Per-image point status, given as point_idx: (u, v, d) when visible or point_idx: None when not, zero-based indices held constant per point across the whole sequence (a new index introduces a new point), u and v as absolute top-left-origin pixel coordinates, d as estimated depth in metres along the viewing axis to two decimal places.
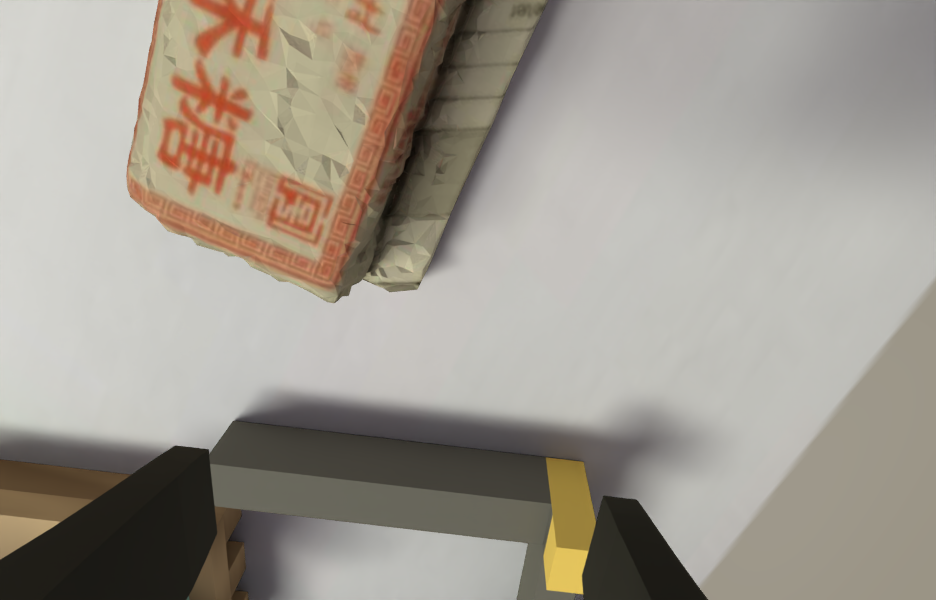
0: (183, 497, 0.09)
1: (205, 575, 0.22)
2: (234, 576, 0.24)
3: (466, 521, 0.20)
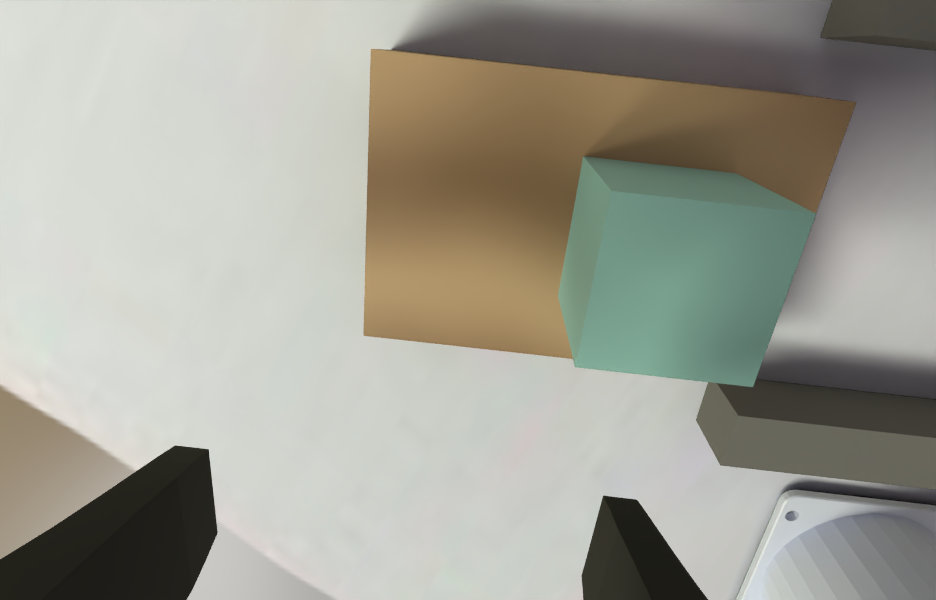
0: (183, 497, 0.09)
1: (814, 181, 0.14)
2: None
3: None
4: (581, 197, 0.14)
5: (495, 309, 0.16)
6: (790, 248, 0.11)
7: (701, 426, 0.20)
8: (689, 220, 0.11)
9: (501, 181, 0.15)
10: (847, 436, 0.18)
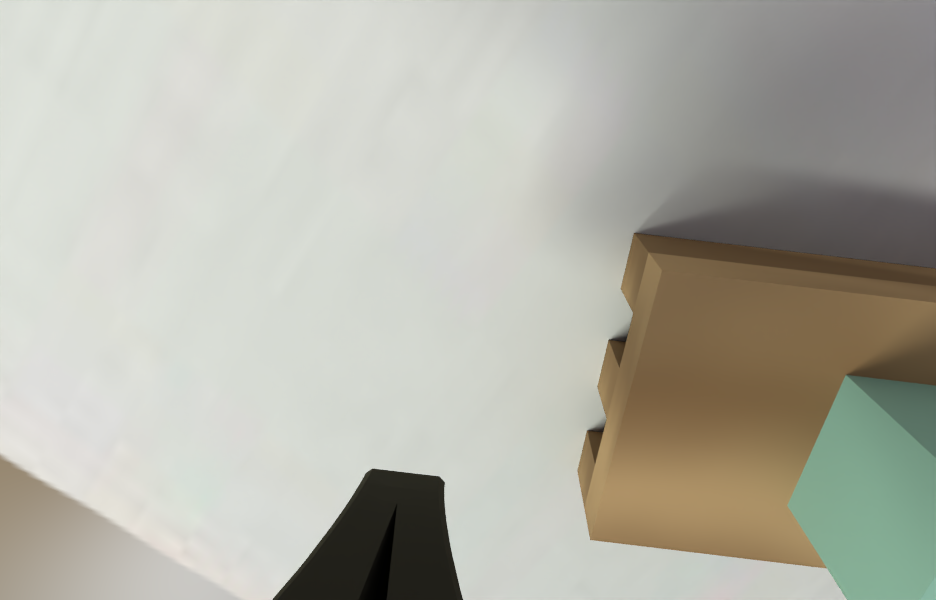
0: None
1: None
2: None
3: None
4: (851, 428, 0.12)
5: (745, 520, 0.15)
6: None
7: None
8: None
9: (782, 400, 0.13)
10: None
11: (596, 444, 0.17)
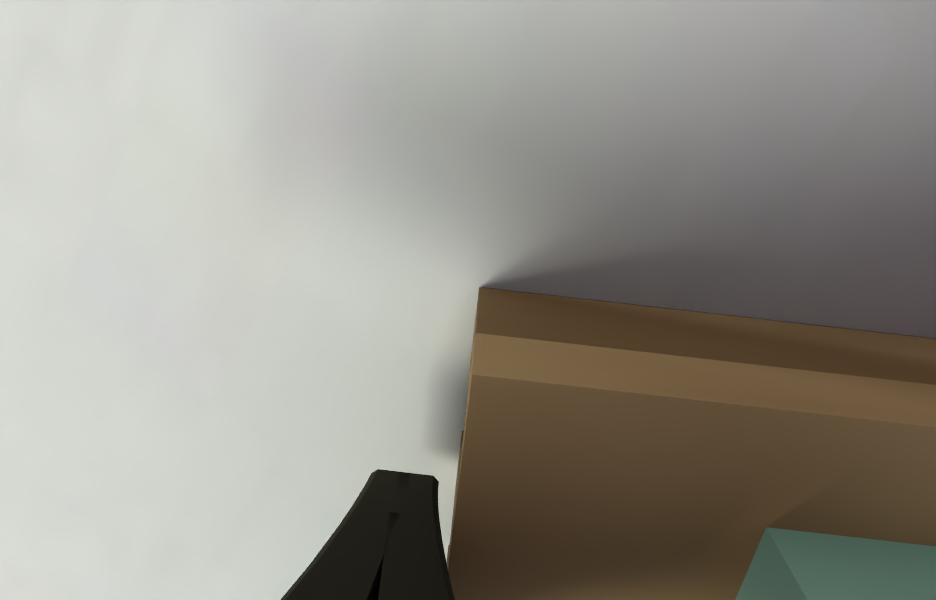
0: None
1: None
2: None
3: None
4: None
5: None
6: None
7: None
8: None
9: (686, 561, 0.09)
10: None
11: None
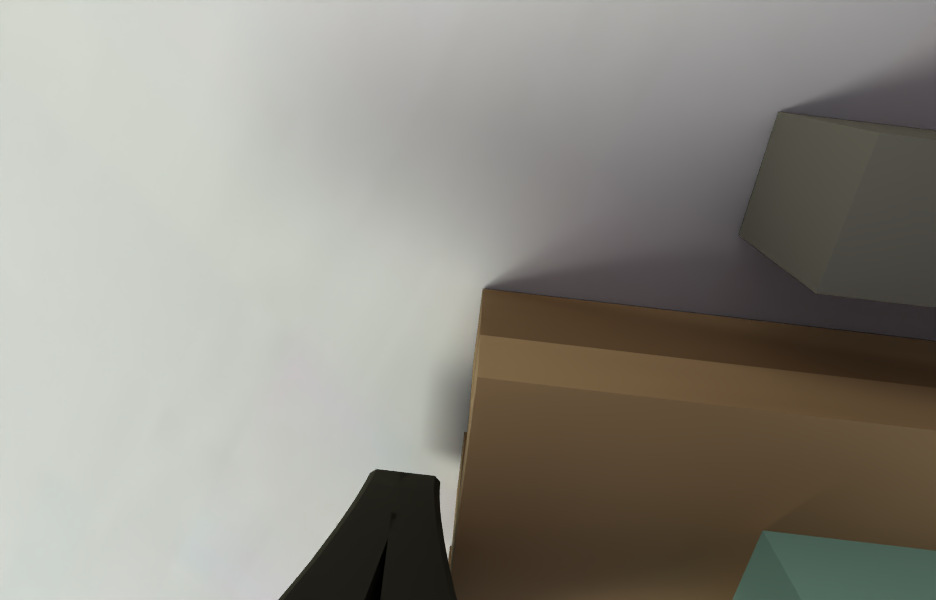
0: None
1: None
2: None
3: None
4: None
5: None
6: None
7: None
8: None
9: (690, 565, 0.08)
10: None
11: None
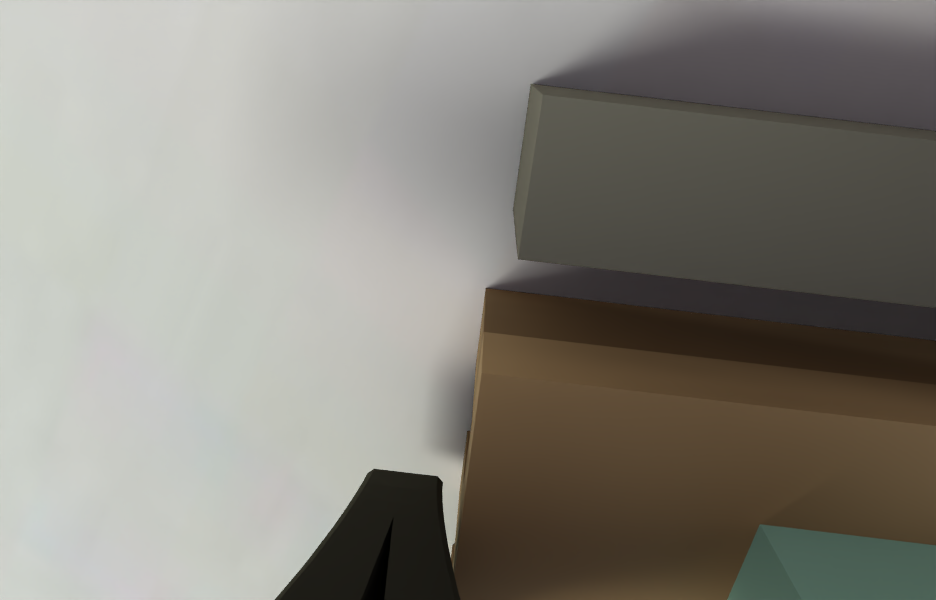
0: None
1: None
2: None
3: None
4: None
5: None
6: None
7: None
8: None
9: (691, 558, 0.09)
10: None
11: None
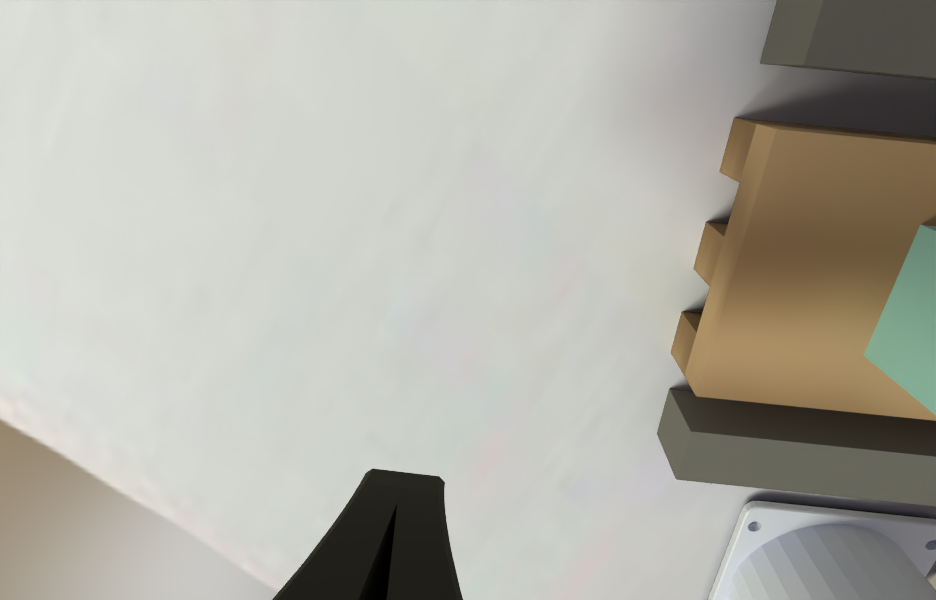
0: None
1: None
2: None
3: None
4: (928, 266, 0.14)
5: (837, 371, 0.17)
6: None
7: (661, 439, 0.21)
8: None
9: (876, 251, 0.15)
10: (798, 450, 0.18)
11: (693, 320, 0.19)
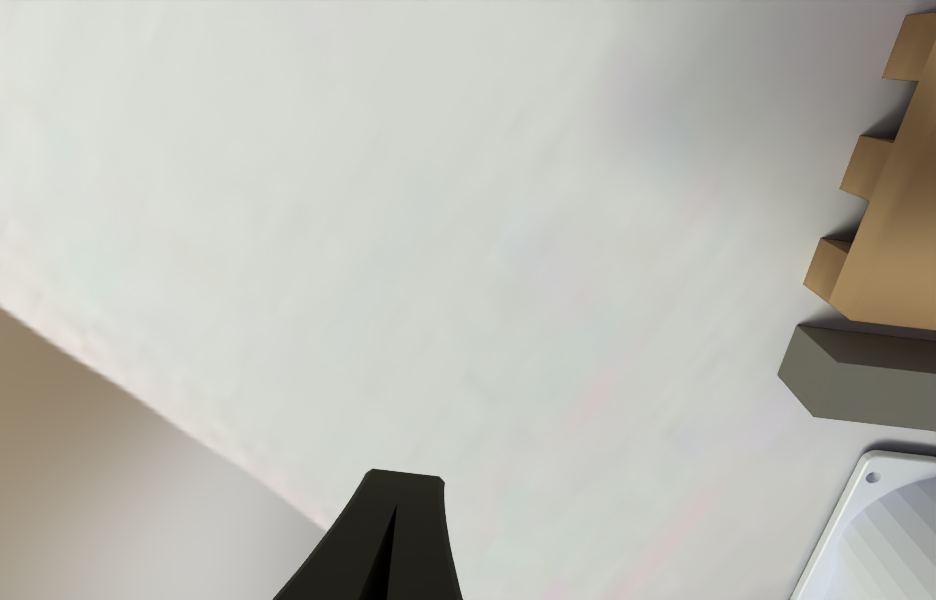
0: None
1: None
2: None
3: None
4: None
5: None
6: None
7: (785, 380, 0.19)
8: None
9: None
10: None
11: (837, 244, 0.17)
